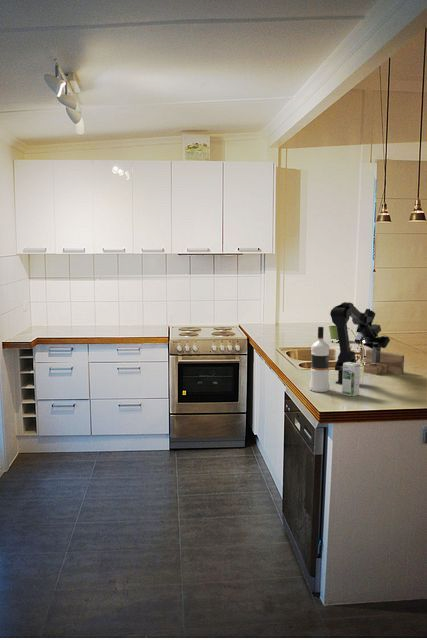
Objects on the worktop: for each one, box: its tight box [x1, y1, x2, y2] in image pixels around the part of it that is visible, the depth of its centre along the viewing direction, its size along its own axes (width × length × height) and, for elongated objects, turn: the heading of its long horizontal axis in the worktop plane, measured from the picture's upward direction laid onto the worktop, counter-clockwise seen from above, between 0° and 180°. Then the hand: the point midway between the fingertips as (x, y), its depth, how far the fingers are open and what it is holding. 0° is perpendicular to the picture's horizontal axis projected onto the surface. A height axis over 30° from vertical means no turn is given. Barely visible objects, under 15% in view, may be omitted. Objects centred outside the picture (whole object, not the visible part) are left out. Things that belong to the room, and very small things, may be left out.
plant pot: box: [328, 325, 338, 340], centre depth 387 cm, size 12×12×11 cm
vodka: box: [308, 326, 330, 393], centre depth 251 cm, size 9×9×30 cm
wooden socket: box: [362, 348, 405, 376], centre depth 291 cm, size 14×22×10 cm, turn 39°
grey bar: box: [371, 343, 382, 363], centre depth 289 cm, size 4×2×13 cm, turn 129°
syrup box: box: [341, 362, 361, 397], centre depth 244 cm, size 6×6×14 cm
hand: (377, 350), depth 289 cm, fingers closed on grey bar, 2 cm apart
